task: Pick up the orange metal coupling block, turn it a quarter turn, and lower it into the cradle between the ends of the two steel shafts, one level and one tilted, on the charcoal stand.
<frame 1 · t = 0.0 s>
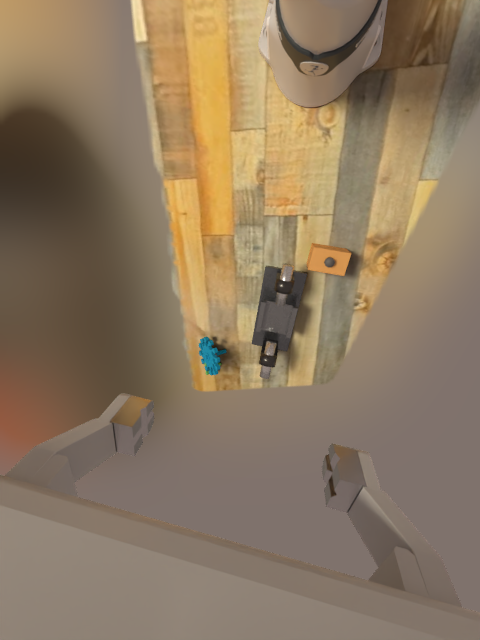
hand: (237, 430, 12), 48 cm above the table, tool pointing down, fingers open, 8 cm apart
gear: (213, 349, 69), on the table
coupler: (325, 256, 53), on the table
shaft stand: (277, 310, 60), on the table
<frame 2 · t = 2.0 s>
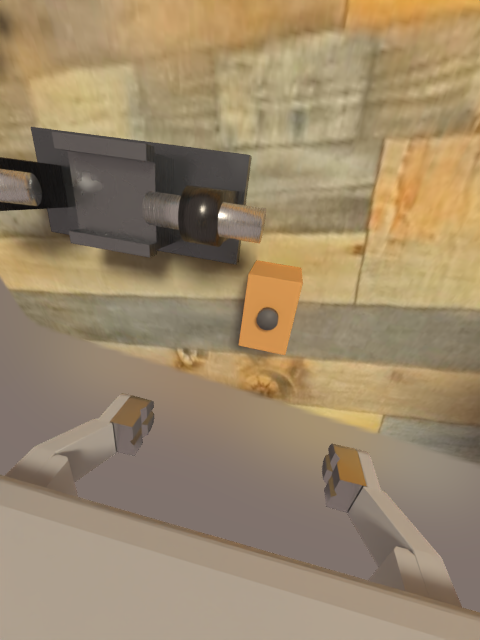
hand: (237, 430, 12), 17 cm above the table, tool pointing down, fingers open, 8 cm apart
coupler: (272, 296, 27), on the table
shaft stand: (143, 198, 25), on the table
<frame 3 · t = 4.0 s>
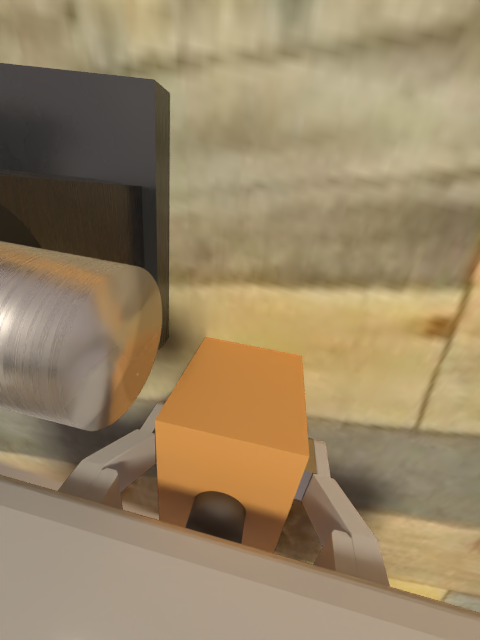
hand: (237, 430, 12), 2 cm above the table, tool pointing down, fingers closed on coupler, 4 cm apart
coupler: (243, 402, 13), on the table, touching gripper
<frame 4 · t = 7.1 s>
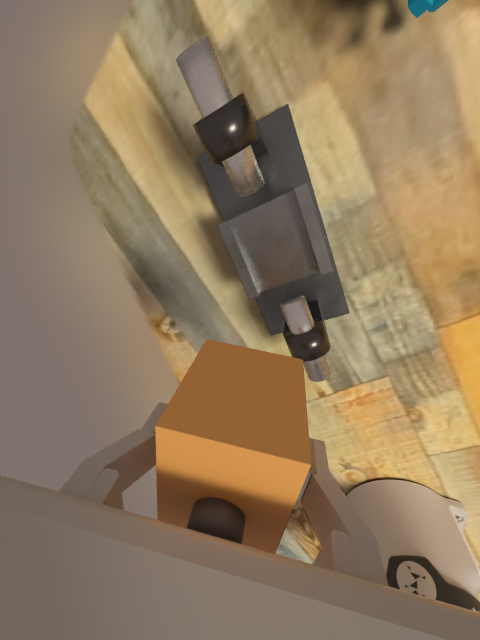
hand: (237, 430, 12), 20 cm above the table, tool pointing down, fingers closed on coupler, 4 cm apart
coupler: (243, 406, 13), point 18 cm above the table, touching gripper
shaft stand: (278, 239, 27), on the table
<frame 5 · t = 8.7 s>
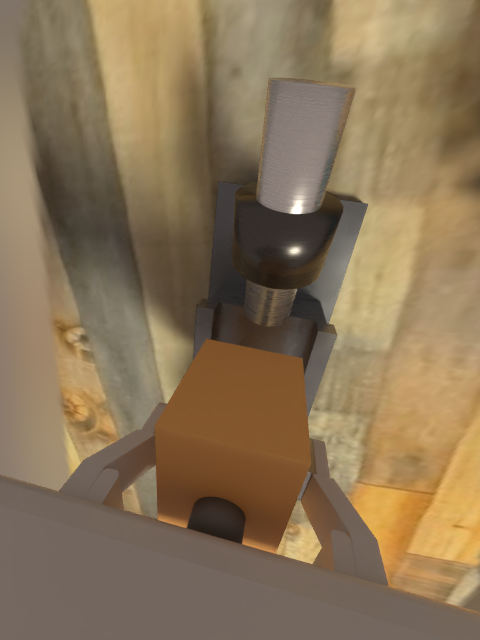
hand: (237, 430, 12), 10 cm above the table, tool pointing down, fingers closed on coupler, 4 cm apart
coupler: (243, 405, 13), point 9 cm above the table, touching gripper
shaft stand: (263, 329, 21), on the table
when the fingers open (7 cm above the table, at t = 10.0 s): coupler drops 1 cm, resting on shaft stand.
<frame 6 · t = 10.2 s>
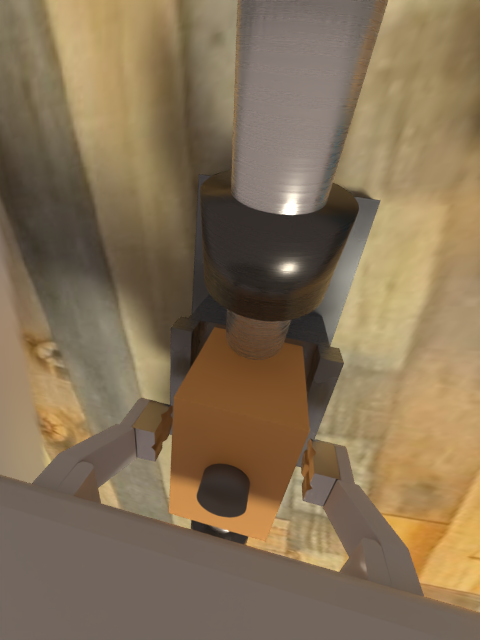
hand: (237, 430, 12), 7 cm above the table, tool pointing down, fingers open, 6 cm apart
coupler: (246, 390, 14), point 4 cm above the table, touching shaft stand
shaft stand: (256, 346, 18), on the table
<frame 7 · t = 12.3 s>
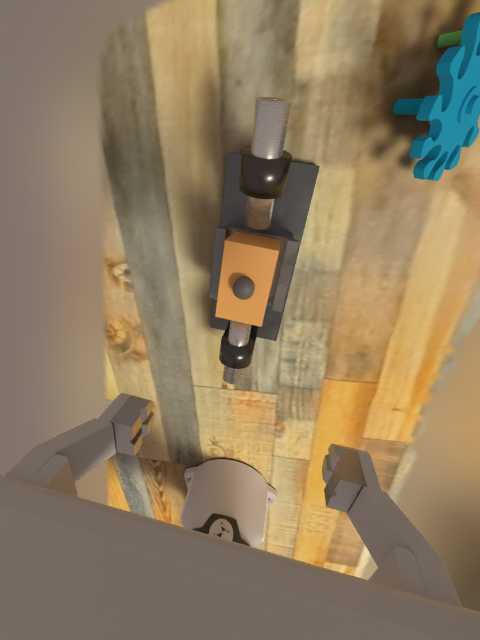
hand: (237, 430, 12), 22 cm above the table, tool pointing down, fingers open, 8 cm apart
gear: (436, 111, 22), on the table
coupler: (251, 270, 26), point 4 cm above the table, touching shaft stand
shaft stand: (256, 258, 30), on the table
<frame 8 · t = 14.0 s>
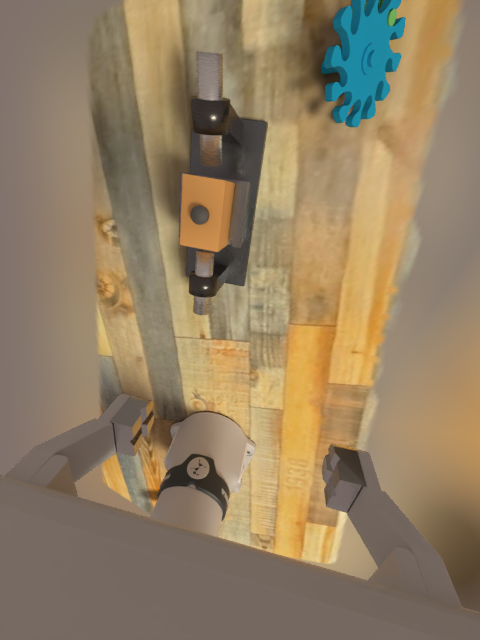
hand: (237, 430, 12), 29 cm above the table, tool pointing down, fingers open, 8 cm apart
gear: (357, 71, 27), on the table
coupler: (213, 212, 31), point 4 cm above the table, touching shaft stand
shaft stand: (222, 209, 35), on the table
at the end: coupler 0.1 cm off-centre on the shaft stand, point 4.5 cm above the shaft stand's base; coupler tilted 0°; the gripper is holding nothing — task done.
